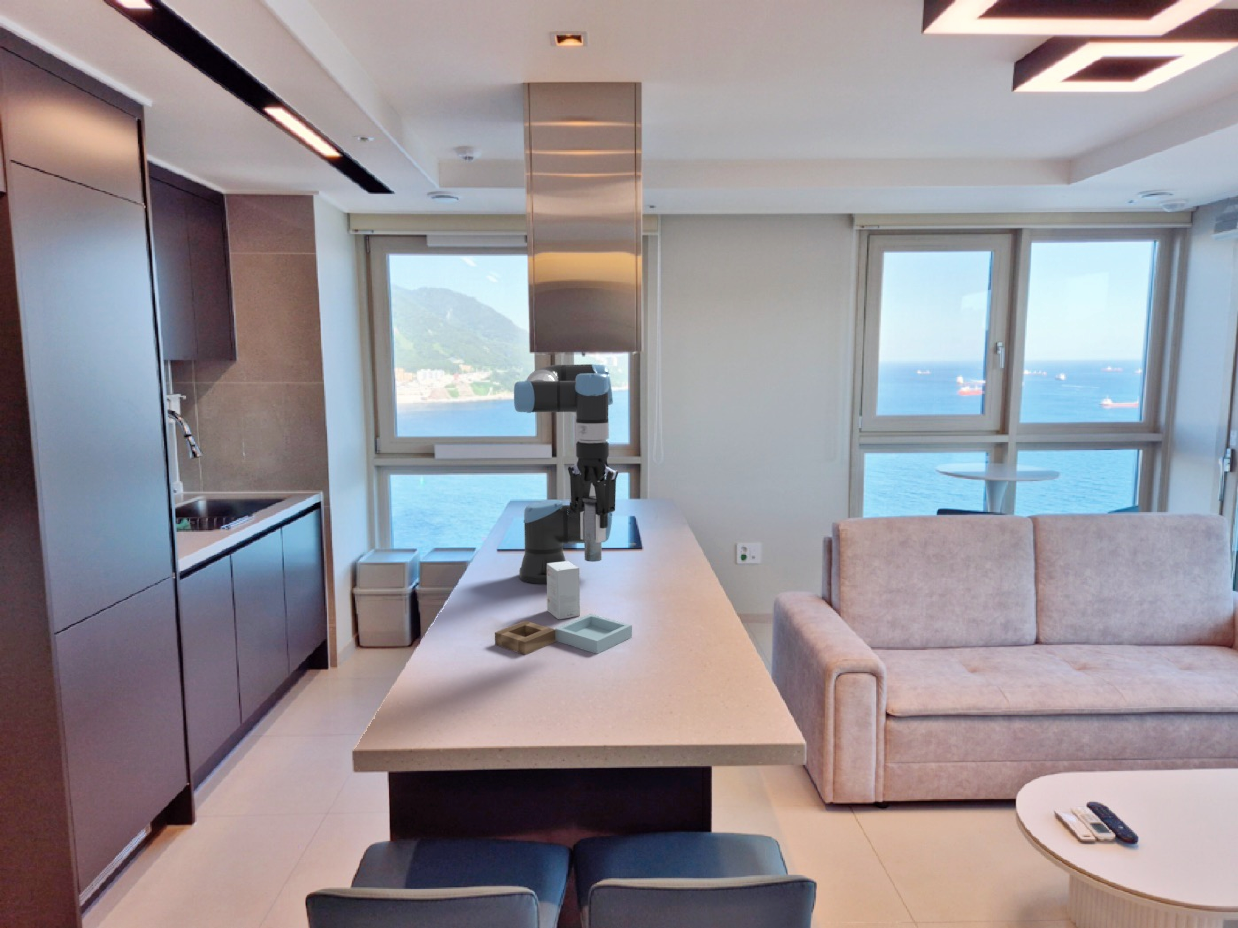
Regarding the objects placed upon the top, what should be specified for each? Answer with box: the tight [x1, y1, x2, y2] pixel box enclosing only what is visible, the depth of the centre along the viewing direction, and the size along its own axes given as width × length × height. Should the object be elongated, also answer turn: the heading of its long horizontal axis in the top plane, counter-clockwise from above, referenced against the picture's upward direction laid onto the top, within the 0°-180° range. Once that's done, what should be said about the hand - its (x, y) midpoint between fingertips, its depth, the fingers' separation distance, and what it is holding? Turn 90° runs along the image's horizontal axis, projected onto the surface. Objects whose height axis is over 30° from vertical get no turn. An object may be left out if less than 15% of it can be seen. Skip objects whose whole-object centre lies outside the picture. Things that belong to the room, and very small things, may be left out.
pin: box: [582, 496, 603, 563], centre depth 176 cm, size 5×5×15 cm
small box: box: [546, 560, 581, 620], centre depth 197 cm, size 8×6×13 cm
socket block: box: [494, 620, 556, 656], centre depth 177 cm, size 10×10×3 cm
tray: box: [554, 613, 633, 655], centre depth 180 cm, size 13×13×3 cm
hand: (593, 539), depth 177 cm, fingers closed on pin, 4 cm apart
